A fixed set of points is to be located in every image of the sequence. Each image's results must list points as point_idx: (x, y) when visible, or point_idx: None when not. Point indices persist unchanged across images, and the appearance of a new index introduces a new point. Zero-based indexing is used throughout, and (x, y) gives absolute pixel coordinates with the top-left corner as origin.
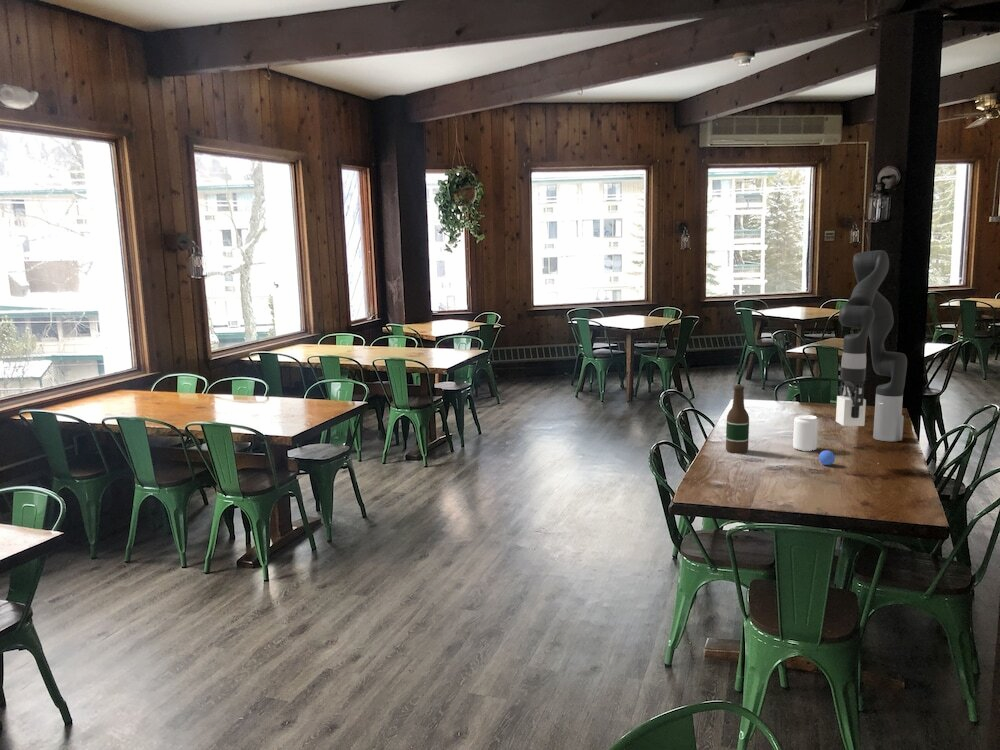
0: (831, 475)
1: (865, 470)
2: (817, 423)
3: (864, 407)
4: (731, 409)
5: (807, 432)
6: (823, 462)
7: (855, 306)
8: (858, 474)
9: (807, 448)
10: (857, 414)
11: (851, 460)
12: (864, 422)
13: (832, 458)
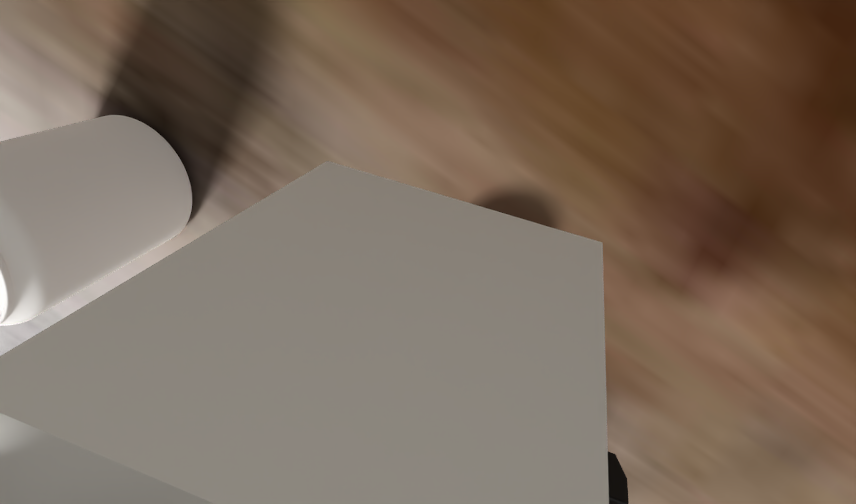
0: (662, 379)
1: (653, 124)
2: (12, 194)
3: (598, 459)
4: None
5: (107, 254)
6: None
7: None
8: (716, 232)
9: (185, 209)
10: (621, 500)
11: (400, 57)
12: (602, 265)
13: None
